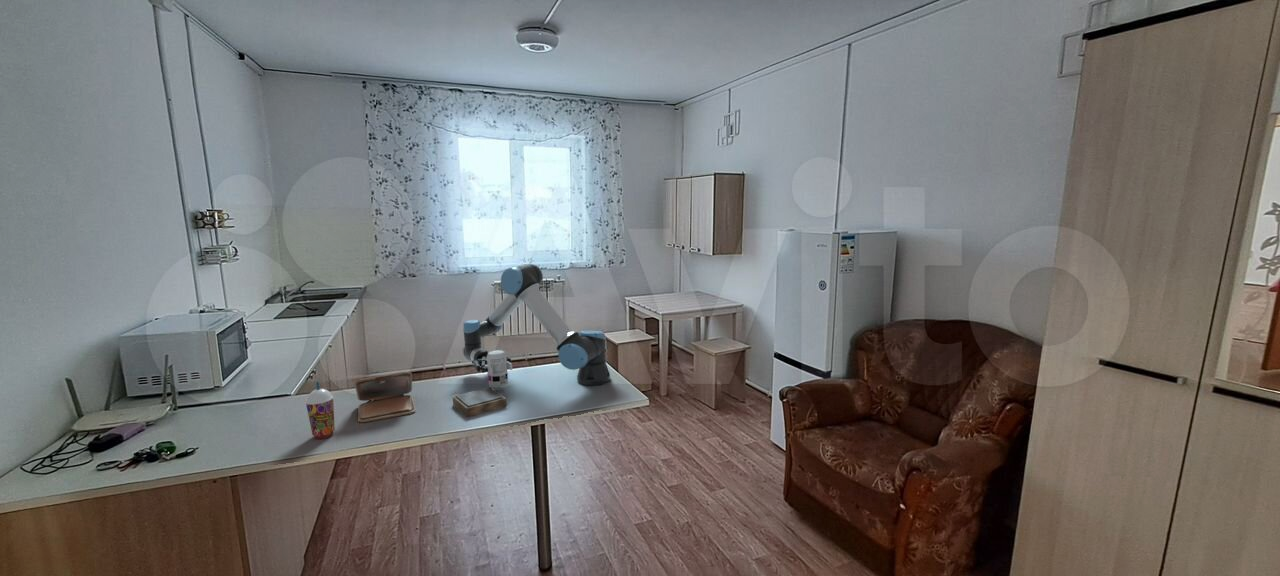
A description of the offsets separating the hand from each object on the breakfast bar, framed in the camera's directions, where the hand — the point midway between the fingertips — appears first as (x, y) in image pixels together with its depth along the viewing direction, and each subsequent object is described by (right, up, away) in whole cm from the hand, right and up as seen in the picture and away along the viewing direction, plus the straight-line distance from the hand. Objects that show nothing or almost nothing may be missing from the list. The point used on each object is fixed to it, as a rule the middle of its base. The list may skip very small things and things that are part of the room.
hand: (501, 369), depth 216 cm
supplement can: (-3, -8, +5) cm, 10 cm away
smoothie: (-54, -18, -36) cm, 67 cm away
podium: (-6, -13, -11) cm, 18 cm away
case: (-42, -14, -13) cm, 47 cm away
